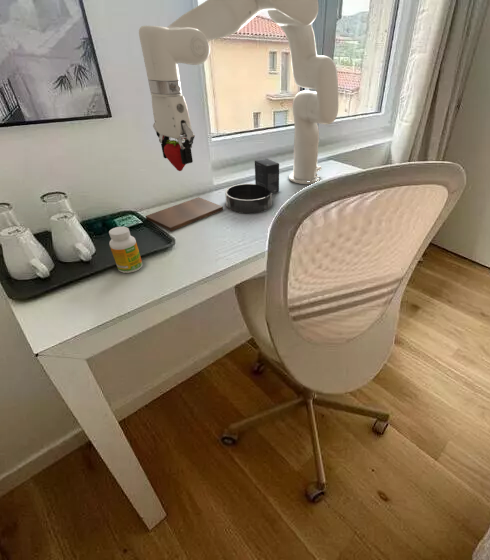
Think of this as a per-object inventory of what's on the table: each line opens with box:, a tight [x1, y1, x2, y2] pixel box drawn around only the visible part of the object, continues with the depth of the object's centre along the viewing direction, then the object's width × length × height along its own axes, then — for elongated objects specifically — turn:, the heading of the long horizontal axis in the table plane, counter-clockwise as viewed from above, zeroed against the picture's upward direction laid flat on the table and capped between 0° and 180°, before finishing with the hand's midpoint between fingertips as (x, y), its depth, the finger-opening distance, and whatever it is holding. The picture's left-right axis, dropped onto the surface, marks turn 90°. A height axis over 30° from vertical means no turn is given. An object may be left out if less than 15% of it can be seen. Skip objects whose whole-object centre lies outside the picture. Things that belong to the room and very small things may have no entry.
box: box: [254, 158, 280, 195], centre depth 117 cm, size 8×6×11 cm
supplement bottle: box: [108, 226, 143, 274], centre depth 73 cm, size 5×5×10 cm
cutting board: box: [145, 196, 224, 232], centre depth 100 cm, size 20×12×1 cm, turn 144°
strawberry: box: [164, 138, 187, 172], centre depth 90 cm, size 6×8×10 cm
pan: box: [224, 183, 273, 215], centre depth 108 cm, size 15×15×4 cm
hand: (178, 159), depth 91 cm, fingers closed on strawberry, 7 cm apart
